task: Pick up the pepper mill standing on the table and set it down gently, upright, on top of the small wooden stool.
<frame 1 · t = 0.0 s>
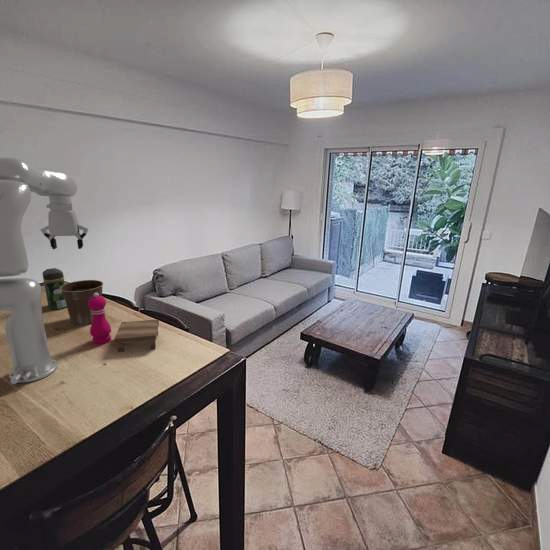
hand: (67, 248, 137), 31 cm above the table, tool pointing down, fingers open, 9 cm apart
coffee jar: (58, 306, 155), on the table
plant pot: (86, 319, 142), on the table
wooden stool: (139, 342, 125), on the table
pepper mill: (102, 341, 125), on the table
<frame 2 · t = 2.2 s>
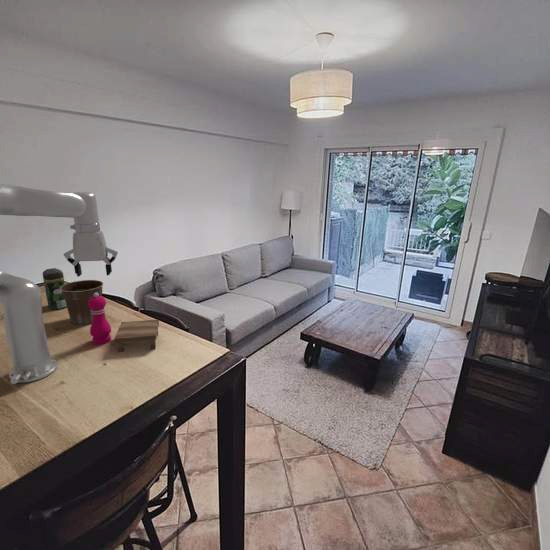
hand: (94, 274, 117), 27 cm above the table, tool pointing down, fingers open, 9 cm apart
nothing on the table moved.
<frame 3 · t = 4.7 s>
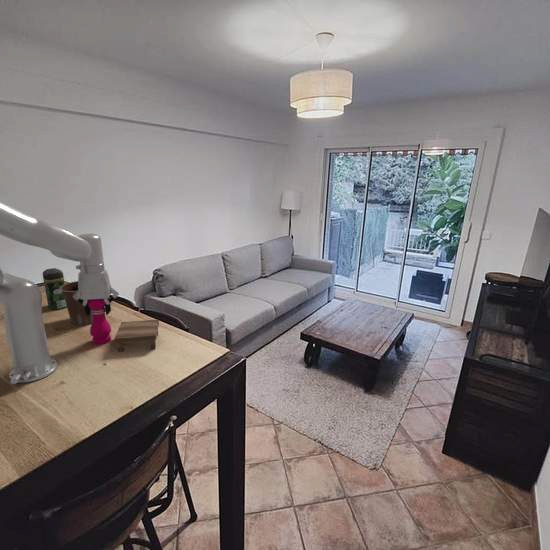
hand: (98, 313, 121), 12 cm above the table, tool pointing down, fingers closed on pepper mill, 5 cm apart
pepper mill: (102, 341, 125), on the table, touching gripper
everything else where it was.
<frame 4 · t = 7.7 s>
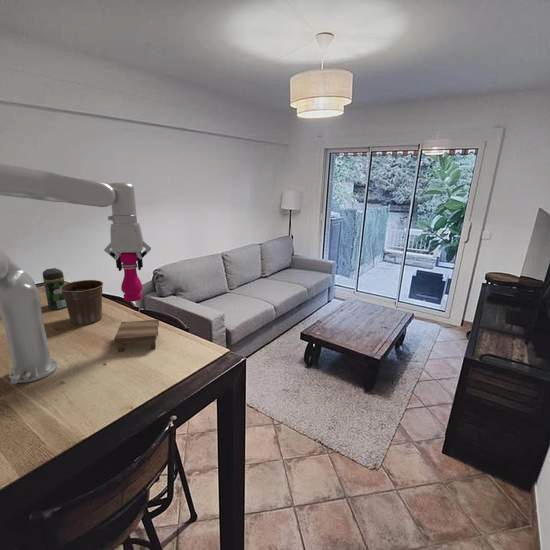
hand: (130, 269, 116), 30 cm above the table, tool pointing down, fingers closed on pepper mill, 5 cm apart
pepper mill: (133, 299, 120), point 18 cm above the table, touching gripper
everything else where it was.
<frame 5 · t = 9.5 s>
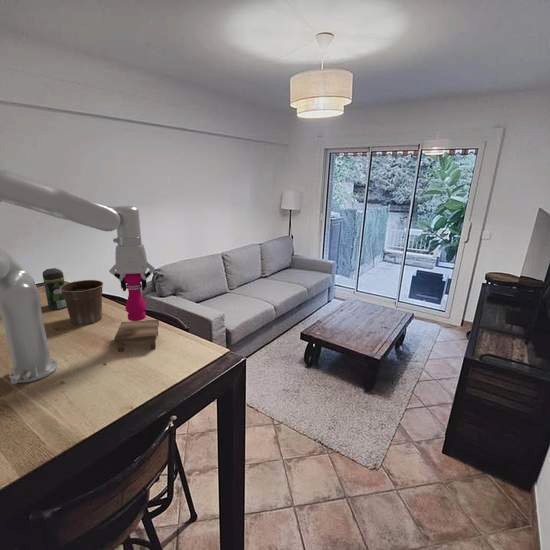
hand: (134, 289, 118), 22 cm above the table, tool pointing down, fingers closed on pepper mill, 5 cm apart
pepper mill: (137, 318, 122), point 10 cm above the table, touching gripper
everything else where it was.
when the fingers open (19 cm above the table, at t = 10.8 s): pepper mill drops 1 cm, resting on wooden stool.
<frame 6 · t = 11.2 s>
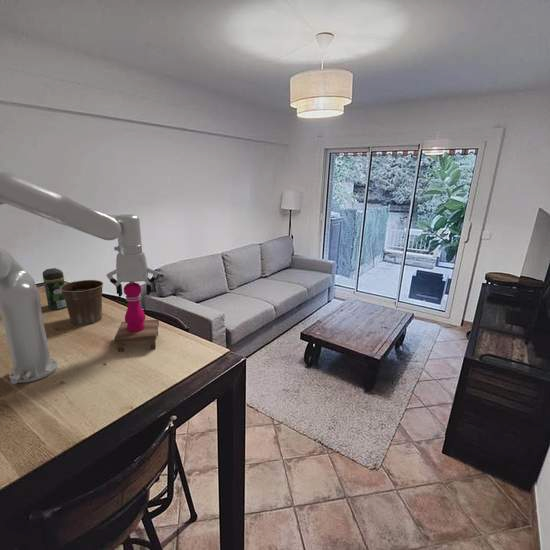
hand: (134, 294, 119), 20 cm above the table, tool pointing down, fingers open, 9 cm apart
pepper mill: (136, 329, 123), point 6 cm above the table, touching wooden stool
everything else where it was.
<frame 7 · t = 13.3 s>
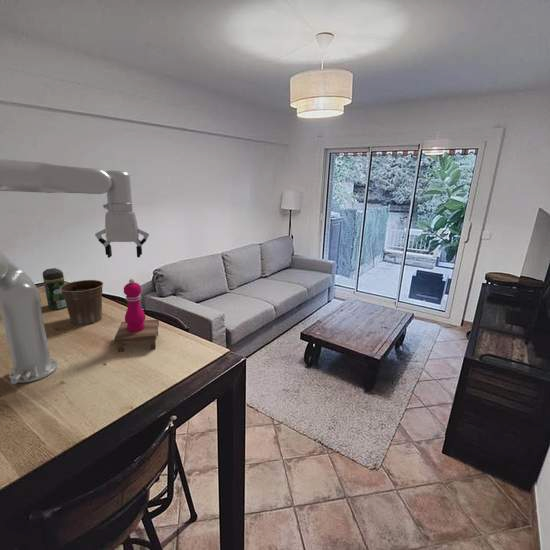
hand: (124, 256, 115), 34 cm above the table, tool pointing down, fingers open, 9 cm apart
nothing on the table moved.
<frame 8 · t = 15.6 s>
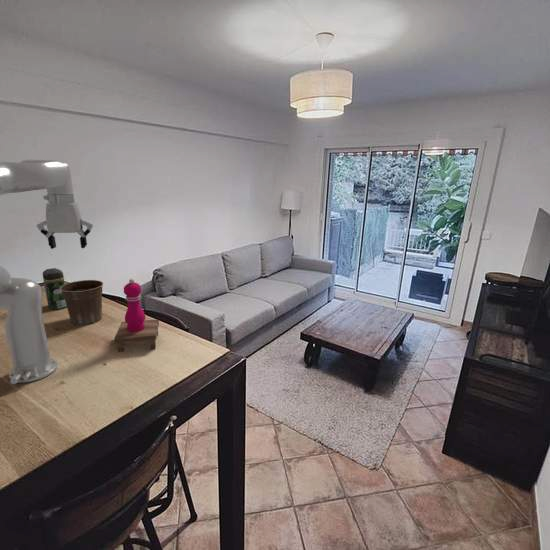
hand: (68, 247, 116), 36 cm above the table, tool pointing down, fingers open, 9 cm apart
nothing on the table moved.
at the end: pepper mill inside the target area on the wooden stool (0.6 cm from its centre), point 5.8 cm above the wooden stool's base; pepper mill tilted 0°; the gripper is holding nothing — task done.
